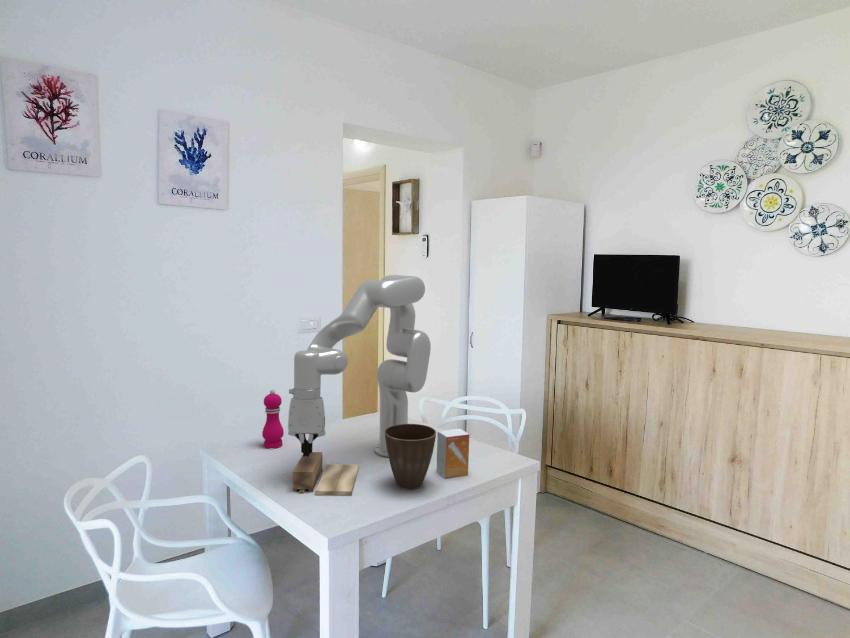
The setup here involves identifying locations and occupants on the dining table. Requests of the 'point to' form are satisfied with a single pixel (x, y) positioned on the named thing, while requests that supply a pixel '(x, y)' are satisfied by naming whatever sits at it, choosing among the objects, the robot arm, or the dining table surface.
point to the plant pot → (410, 453)
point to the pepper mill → (272, 421)
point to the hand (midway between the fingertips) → (306, 454)
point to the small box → (452, 453)
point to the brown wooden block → (307, 472)
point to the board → (337, 480)
